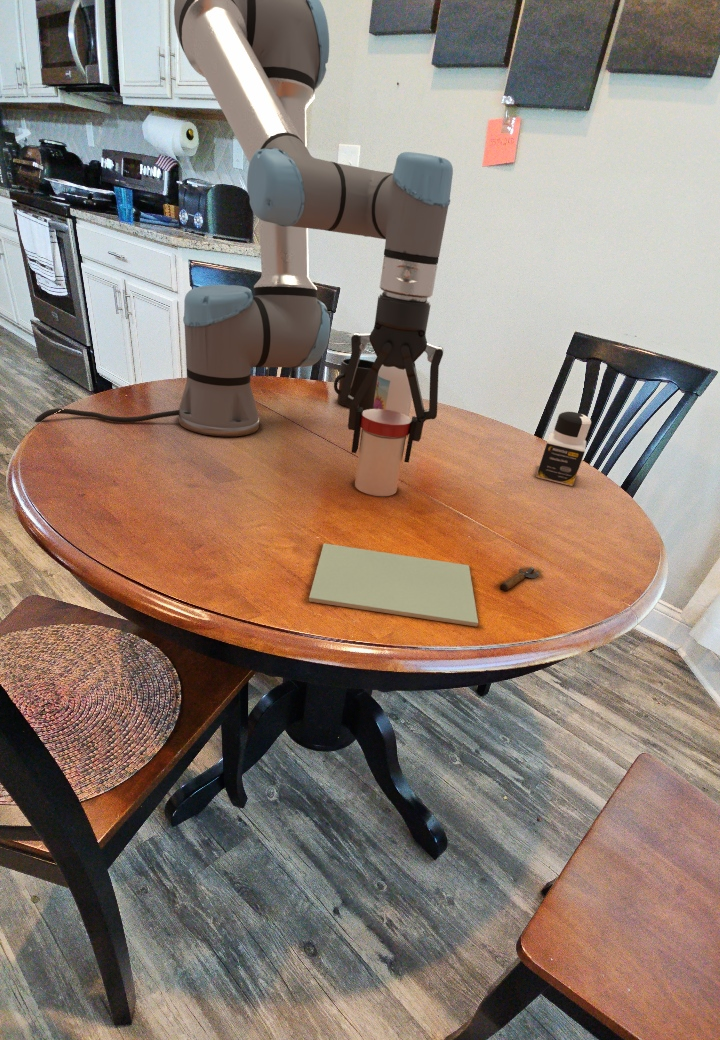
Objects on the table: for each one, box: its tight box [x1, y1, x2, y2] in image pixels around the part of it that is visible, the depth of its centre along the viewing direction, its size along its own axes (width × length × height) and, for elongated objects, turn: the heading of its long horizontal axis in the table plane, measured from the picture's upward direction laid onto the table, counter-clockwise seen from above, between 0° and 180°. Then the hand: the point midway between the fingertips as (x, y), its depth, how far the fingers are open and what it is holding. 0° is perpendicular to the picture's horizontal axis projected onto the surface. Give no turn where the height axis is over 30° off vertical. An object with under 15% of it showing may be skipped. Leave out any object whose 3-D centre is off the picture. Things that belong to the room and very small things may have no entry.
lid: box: [360, 409, 412, 437], centre depth 93 cm, size 8×8×2 cm
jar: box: [354, 428, 407, 497], centre depth 96 cm, size 7×7×11 cm
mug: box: [333, 358, 379, 411], centre depth 136 cm, size 9×12×9 cm
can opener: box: [499, 566, 540, 592], centre depth 79 cm, size 9×2×1 cm, turn 132°
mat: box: [308, 543, 479, 627], centre depth 74 cm, size 20×14×1 cm
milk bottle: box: [373, 365, 413, 417], centre depth 120 cm, size 8×8×20 cm
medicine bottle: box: [535, 411, 592, 487], centre depth 112 cm, size 7×7×12 cm
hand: (380, 454), depth 96 cm, fingers closed on lid, 8 cm apart
